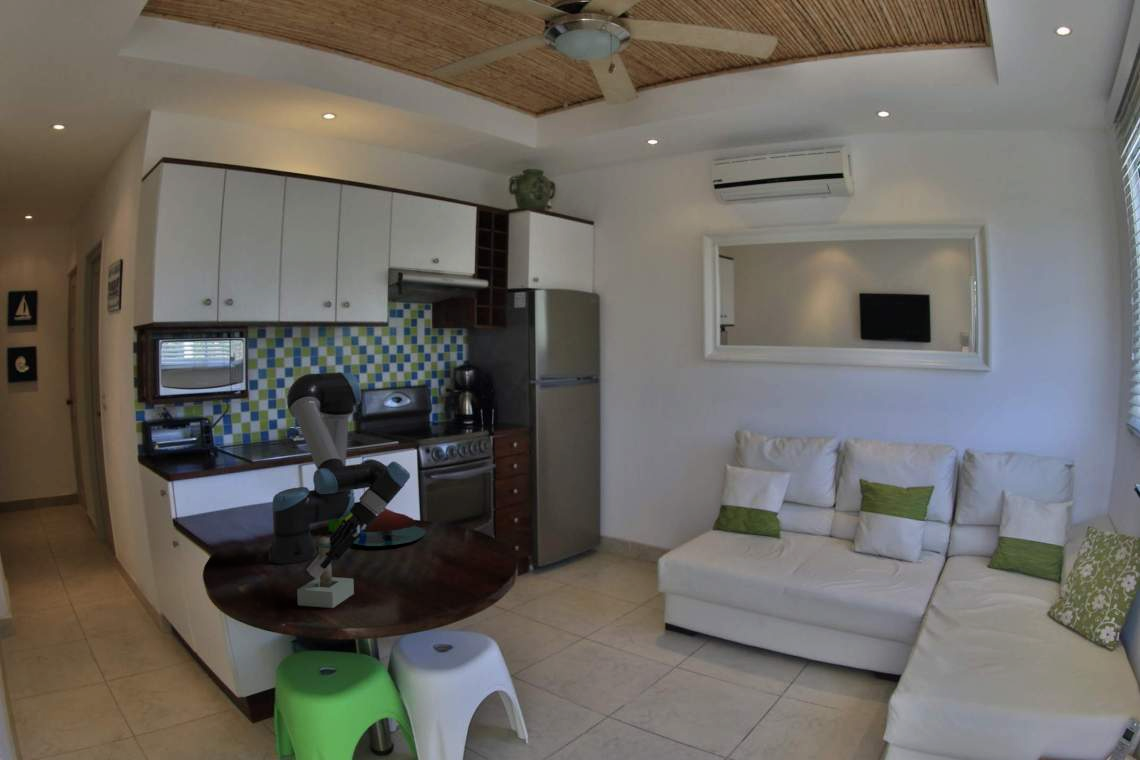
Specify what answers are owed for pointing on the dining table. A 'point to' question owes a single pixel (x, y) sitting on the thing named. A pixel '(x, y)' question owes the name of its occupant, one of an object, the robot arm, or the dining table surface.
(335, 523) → the puzzle toy
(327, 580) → the tan cylinder
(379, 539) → the red and teal hat
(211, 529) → the dining table surface
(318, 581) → the grey square-hole block
